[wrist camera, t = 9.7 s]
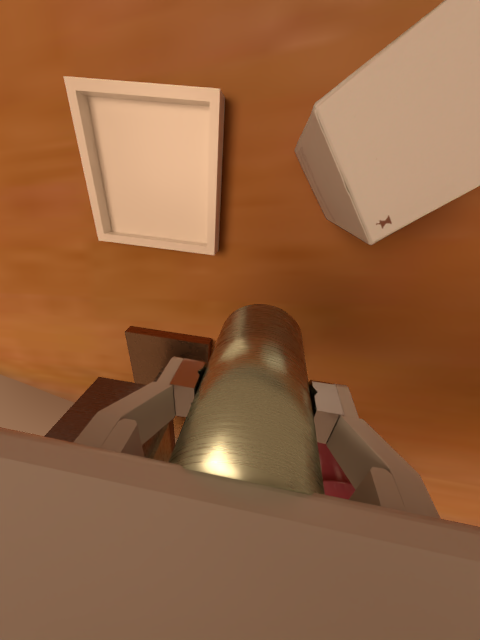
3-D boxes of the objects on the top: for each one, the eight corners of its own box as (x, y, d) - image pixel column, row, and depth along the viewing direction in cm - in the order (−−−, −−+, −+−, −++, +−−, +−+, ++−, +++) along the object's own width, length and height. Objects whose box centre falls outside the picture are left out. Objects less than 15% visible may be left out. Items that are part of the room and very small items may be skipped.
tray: (225, 97, 20) (219, 88, 18) (218, 250, 27) (214, 255, 25) (82, 85, 21) (63, 76, 19) (110, 236, 27) (98, 240, 26)
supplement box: (404, 173, 21) (542, 160, 10) (325, 221, 24) (367, 250, 13) (376, 81, 18) (523, -69, 7) (291, 147, 21) (308, 106, 10)
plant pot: (267, 448, 44) (264, 534, 33) (314, 408, 37) (330, 501, 26) (328, 476, 46) (345, 566, 35) (383, 443, 39) (425, 543, 28)
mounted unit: (211, 338, 33) (142, 504, 16) (208, 411, 41) (161, 573, 24) (130, 326, 34) (-19, 471, 17) (143, 400, 42) (53, 549, 25)
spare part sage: (310, 311, 12) (355, 490, 5) (292, 376, 14) (305, 560, 7) (223, 298, 12) (149, 447, 5) (219, 364, 14) (164, 527, 7)
